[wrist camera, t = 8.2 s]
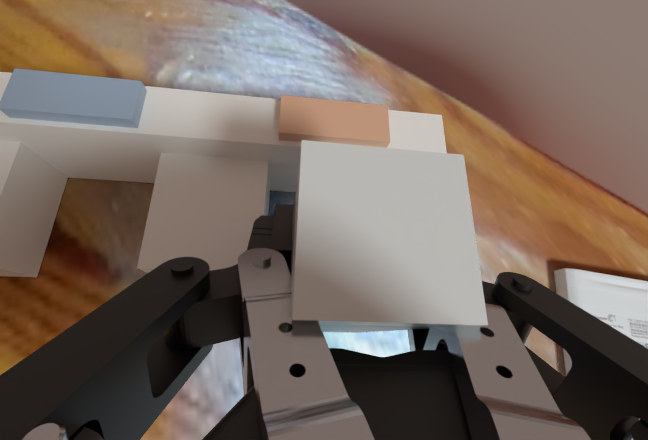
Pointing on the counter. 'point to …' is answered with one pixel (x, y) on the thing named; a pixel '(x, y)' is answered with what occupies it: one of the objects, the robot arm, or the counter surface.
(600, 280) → the external hard drive
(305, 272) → the grey tall block
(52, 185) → the socket strip
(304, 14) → the counter surface
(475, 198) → the counter surface
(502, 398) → the robot arm
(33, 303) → the counter surface
